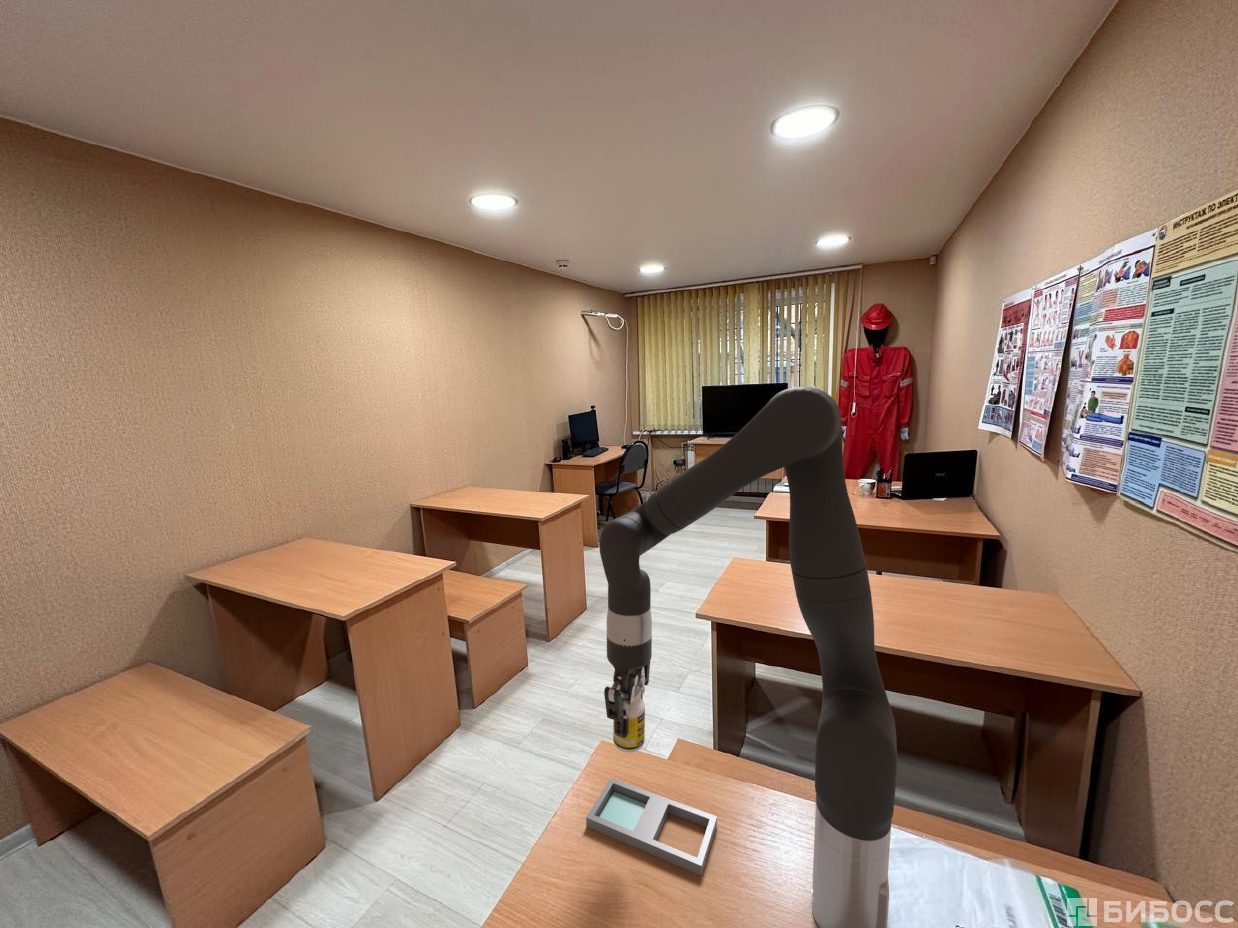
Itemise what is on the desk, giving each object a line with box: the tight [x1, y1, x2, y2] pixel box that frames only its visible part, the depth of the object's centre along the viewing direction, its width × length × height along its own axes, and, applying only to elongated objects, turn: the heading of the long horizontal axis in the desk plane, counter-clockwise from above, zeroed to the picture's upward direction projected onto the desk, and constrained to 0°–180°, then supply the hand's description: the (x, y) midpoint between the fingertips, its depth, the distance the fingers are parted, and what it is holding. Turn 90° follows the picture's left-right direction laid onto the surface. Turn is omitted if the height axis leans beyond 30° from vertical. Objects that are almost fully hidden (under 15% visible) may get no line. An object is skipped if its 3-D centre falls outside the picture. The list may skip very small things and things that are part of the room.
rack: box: [585, 777, 718, 877], centre depth 82 cm, size 20×10×2 cm, turn 64°
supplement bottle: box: [612, 686, 646, 753], centre depth 81 cm, size 5×5×10 cm
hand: (629, 723), depth 81 cm, fingers closed on supplement bottle, 5 cm apart
